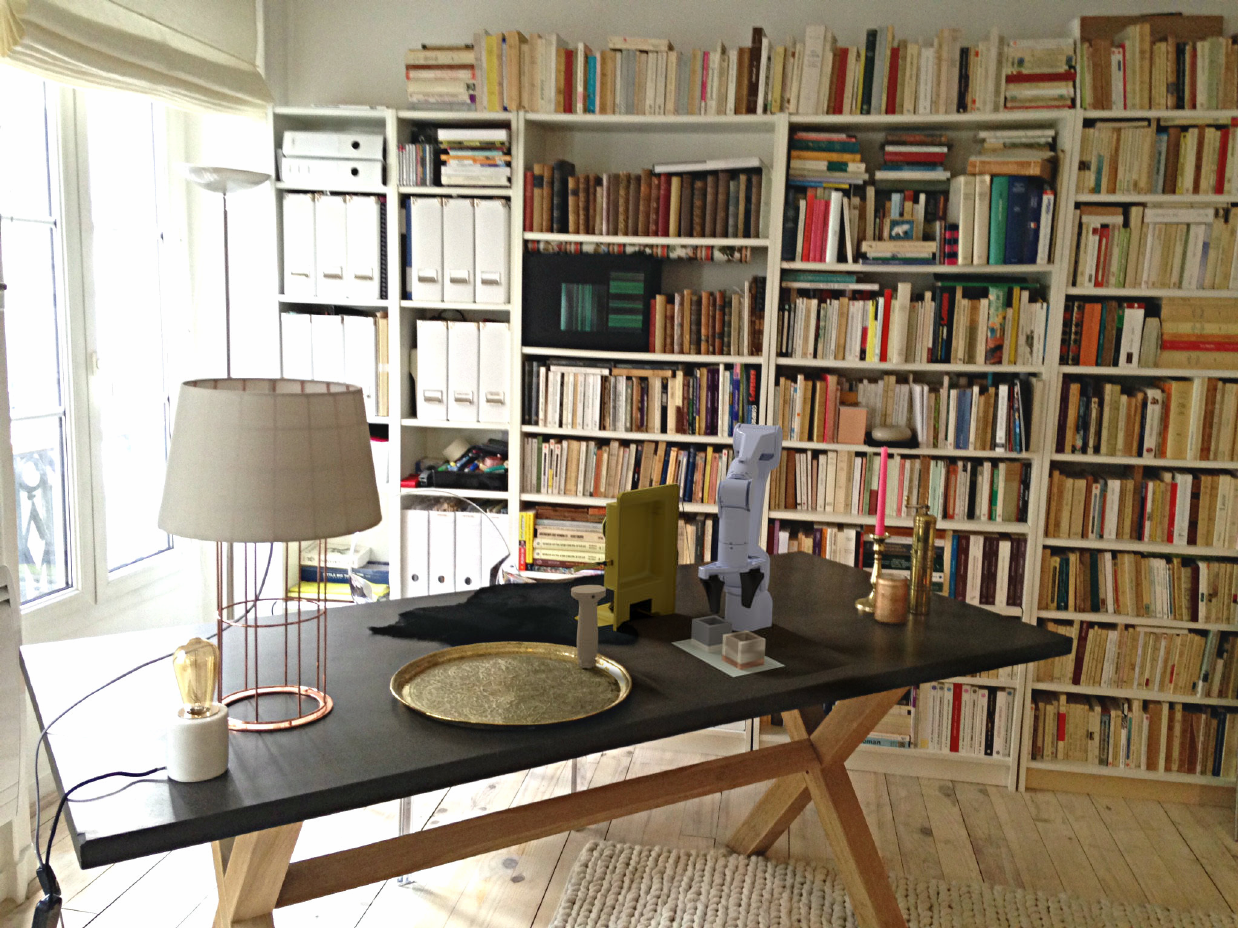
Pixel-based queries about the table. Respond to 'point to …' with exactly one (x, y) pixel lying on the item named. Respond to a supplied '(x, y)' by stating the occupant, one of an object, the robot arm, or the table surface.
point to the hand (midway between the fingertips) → (730, 609)
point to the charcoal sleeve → (709, 632)
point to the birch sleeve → (743, 649)
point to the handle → (587, 622)
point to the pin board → (717, 661)
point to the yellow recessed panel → (640, 553)
